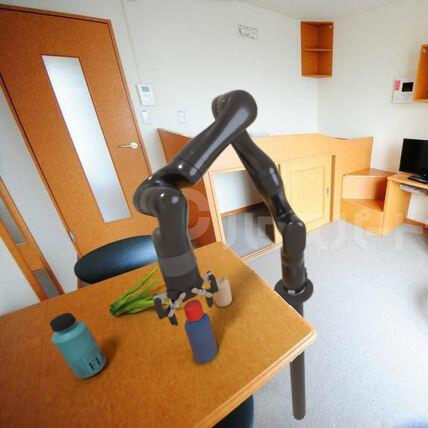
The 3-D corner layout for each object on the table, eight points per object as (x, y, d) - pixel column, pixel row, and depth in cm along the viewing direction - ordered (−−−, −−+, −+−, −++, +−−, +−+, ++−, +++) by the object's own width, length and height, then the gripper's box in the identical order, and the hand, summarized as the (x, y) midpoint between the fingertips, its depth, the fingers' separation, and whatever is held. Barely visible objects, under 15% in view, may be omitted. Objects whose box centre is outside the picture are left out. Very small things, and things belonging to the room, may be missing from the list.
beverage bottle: (97, 382, 63) (63, 329, 54) (70, 384, 62) (32, 330, 54) (114, 358, 69) (86, 307, 60) (90, 359, 68) (58, 308, 60)
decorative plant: (199, 316, 82) (190, 283, 76) (109, 320, 80) (92, 287, 74) (216, 281, 99) (210, 251, 92) (141, 284, 96) (129, 253, 90)
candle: (216, 308, 85) (211, 287, 81) (216, 298, 90) (211, 277, 86) (232, 304, 88) (228, 282, 83) (231, 294, 92) (227, 273, 88)
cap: (189, 324, 61) (186, 313, 60) (184, 315, 64) (181, 304, 62) (205, 315, 64) (203, 305, 62) (200, 307, 66) (197, 297, 65)
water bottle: (212, 339, 74) (200, 294, 66) (220, 353, 70) (209, 307, 62) (191, 352, 70) (176, 306, 63) (199, 368, 66) (183, 320, 59)
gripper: (204, 247, 64) (214, 294, 70) (140, 270, 55) (159, 321, 61) (215, 260, 59) (225, 308, 65) (147, 287, 50) (167, 340, 57)
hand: (193, 314), depth 63 cm, fingers open, 8 cm apart
